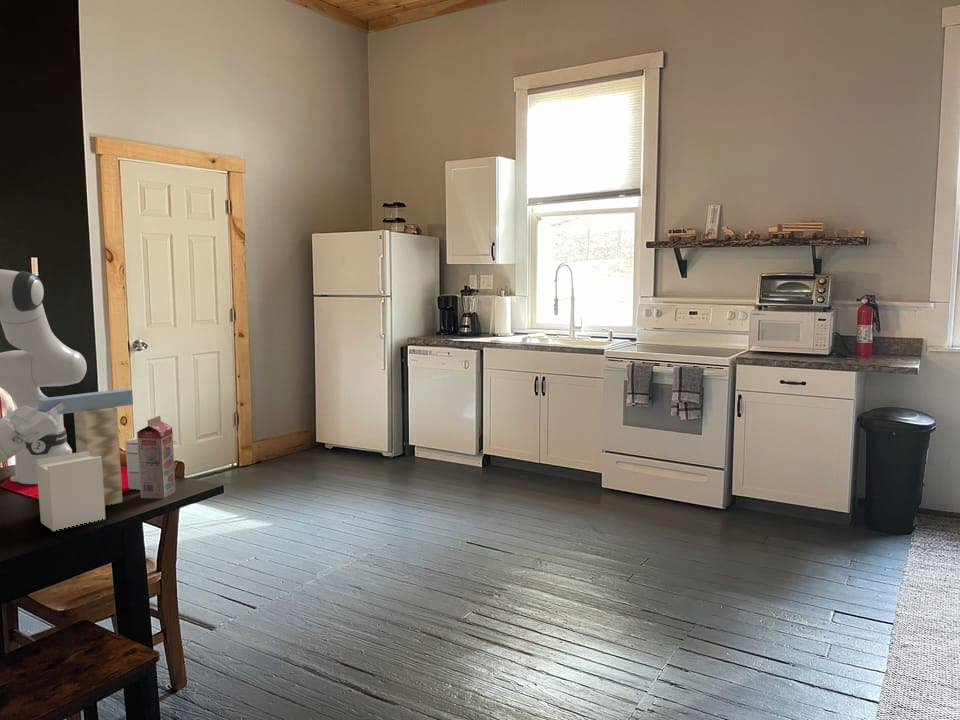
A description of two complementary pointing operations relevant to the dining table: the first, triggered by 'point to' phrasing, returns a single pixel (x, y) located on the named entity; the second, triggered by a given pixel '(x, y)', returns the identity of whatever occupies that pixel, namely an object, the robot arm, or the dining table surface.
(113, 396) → the bar
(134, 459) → the syrup box
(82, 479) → the cream block
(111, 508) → the dining table surface
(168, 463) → the juice carton
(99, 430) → the post
